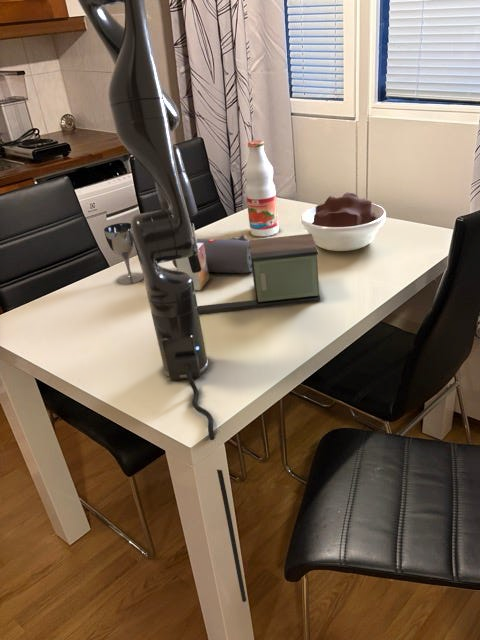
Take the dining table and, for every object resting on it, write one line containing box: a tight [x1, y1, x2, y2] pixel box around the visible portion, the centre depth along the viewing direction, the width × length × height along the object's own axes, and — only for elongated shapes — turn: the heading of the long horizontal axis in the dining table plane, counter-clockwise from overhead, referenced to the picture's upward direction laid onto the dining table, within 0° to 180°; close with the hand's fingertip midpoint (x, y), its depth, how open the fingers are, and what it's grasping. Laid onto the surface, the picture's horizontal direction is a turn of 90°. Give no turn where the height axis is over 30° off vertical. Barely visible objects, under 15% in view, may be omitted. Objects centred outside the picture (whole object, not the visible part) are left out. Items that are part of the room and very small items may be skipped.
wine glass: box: [103, 222, 144, 285], centre depth 164 cm, size 8×8×15 cm
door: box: [253, 255, 319, 302], centre depth 144 cm, size 2×15×11 cm, turn 95°
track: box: [197, 246, 321, 315], centre depth 144 cm, size 3×32×13 cm, turn 95°
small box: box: [176, 243, 210, 291], centre depth 159 cm, size 8×6×10 cm
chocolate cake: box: [300, 192, 387, 252], centre depth 174 cm, size 25×25×15 cm
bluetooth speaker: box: [171, 238, 253, 274], centre depth 166 cm, size 23×9×10 cm
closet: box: [248, 233, 320, 300], centre depth 150 cm, size 10×16×13 cm, turn 95°
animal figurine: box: [229, 233, 249, 241], centre depth 181 cm, size 12×4×5 cm
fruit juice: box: [243, 139, 280, 237], centre depth 185 cm, size 9×9×28 cm
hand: (197, 271), depth 138 cm, fingers closed
